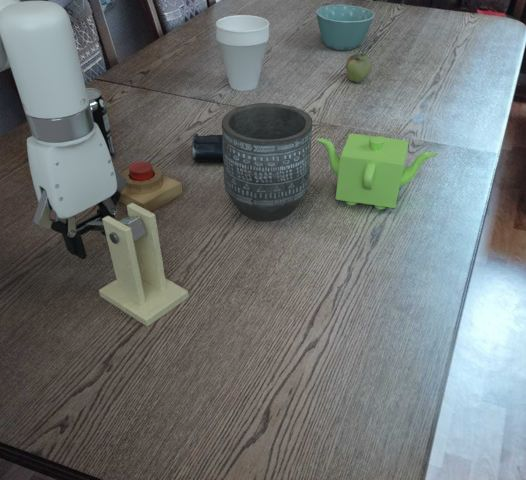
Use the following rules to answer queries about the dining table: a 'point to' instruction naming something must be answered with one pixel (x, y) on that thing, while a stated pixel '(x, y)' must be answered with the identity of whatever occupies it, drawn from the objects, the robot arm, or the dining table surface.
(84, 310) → the dining table surface
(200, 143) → the electronic device
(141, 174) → the button
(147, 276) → the switch bracket
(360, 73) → the apple
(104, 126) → the beverage can
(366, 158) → the teapot
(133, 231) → the switch lever
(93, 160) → the robot arm
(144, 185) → the button block
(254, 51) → the cup
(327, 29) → the bowl
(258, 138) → the planter
